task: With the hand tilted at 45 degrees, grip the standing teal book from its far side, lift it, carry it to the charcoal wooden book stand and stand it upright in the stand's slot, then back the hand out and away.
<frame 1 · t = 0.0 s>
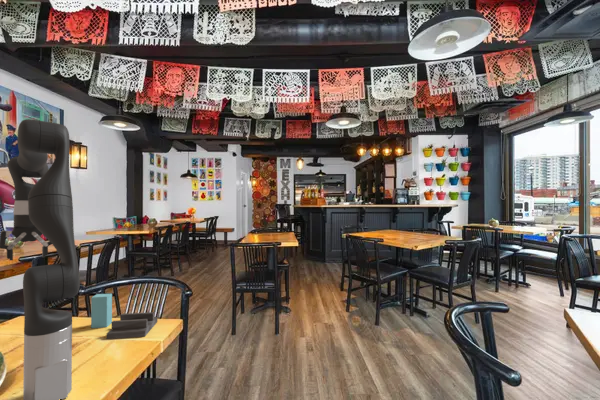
hand: (28, 258, 103), 29 cm above the table, tool pointing down, fingers open, 8 cm apart
teal book: (101, 325, 114), on the table
book stand: (133, 329, 110), on the table
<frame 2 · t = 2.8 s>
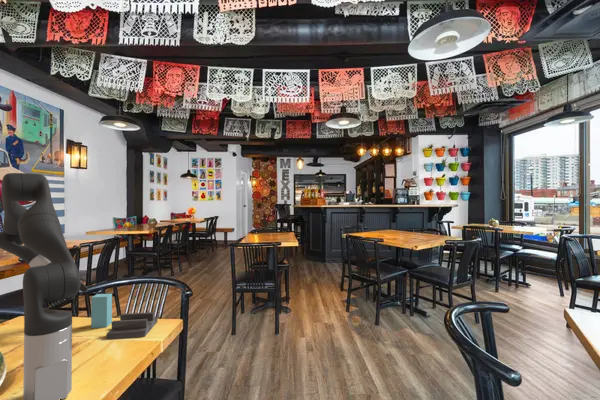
hand: (80, 294, 113), 13 cm above the table, tool tilted 45°, fingers open, 8 cm apart
nothing on the table moved.
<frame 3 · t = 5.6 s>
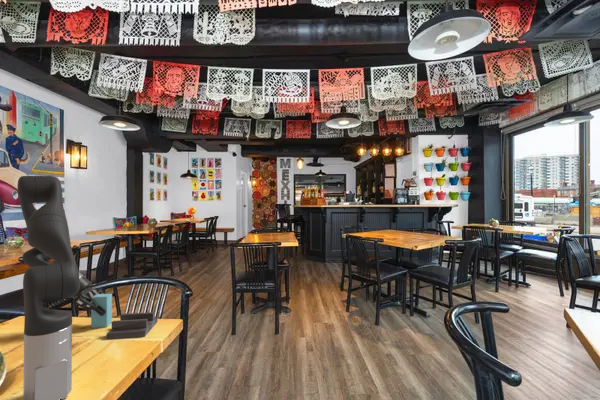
hand: (107, 311, 115), 5 cm above the table, tool tilted 45°, fingers closed on teal book, 4 cm apart
teal book: (101, 325, 114), on the table, touching gripper
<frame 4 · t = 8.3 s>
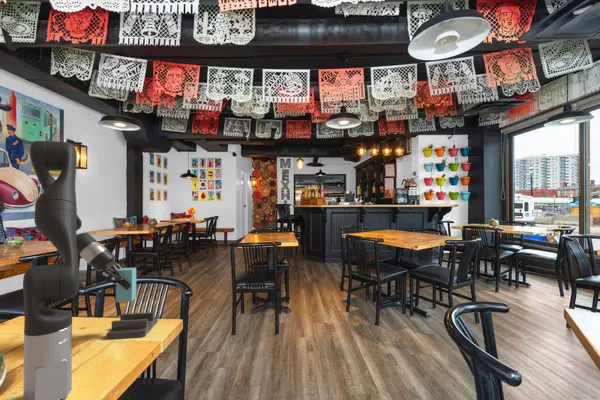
hand: (131, 286, 111), 17 cm above the table, tool tilted 45°, fingers closed on teal book, 4 cm apart
teal book: (126, 300, 111), point 11 cm above the table, touching gripper
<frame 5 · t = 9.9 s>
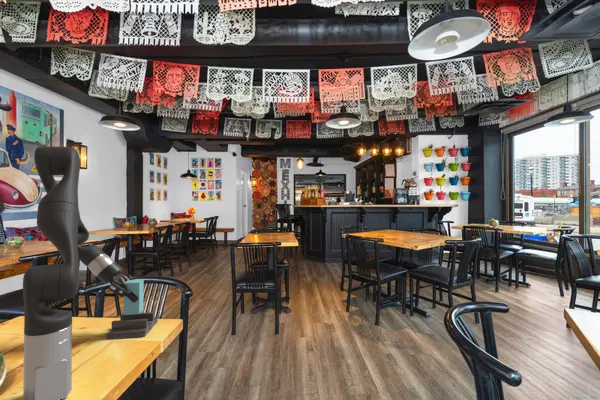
hand: (139, 298, 111), 12 cm above the table, tool tilted 45°, fingers closed on teal book, 4 cm apart
teal book: (133, 312, 110), point 7 cm above the table, touching gripper
when the fingers open (9 cm above the table, at t = 11.0 s): teal book drops 1 cm, resting on book stand.
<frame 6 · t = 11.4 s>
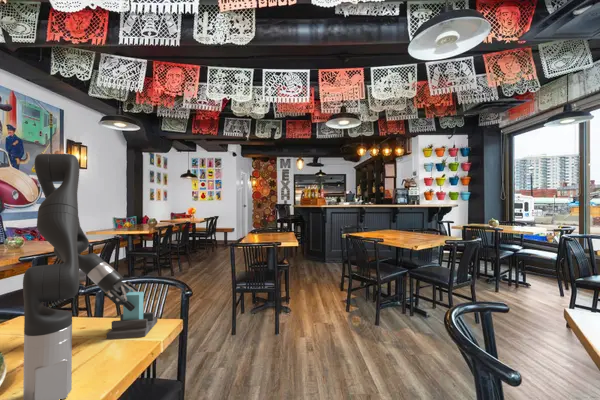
hand: (137, 305, 111), 9 cm above the table, tool tilted 45°, fingers open, 7 cm apart
teal book: (133, 324, 110), point 2 cm above the table, touching book stand
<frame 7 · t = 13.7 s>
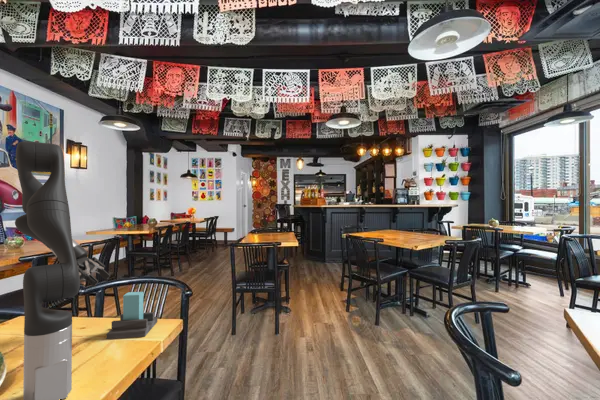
hand: (102, 280, 109), 19 cm above the table, tool tilted 45°, fingers open, 8 cm apart
nothing on the table moved.
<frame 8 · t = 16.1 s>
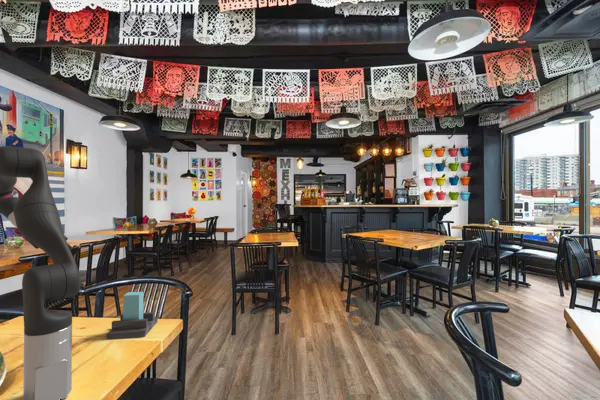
hand: (62, 251, 107), 31 cm above the table, tool tilted 45°, fingers open, 8 cm apart
nothing on the table moved.
at the end: teal book 0.1 cm off-centre on the book stand, point 2.0 cm above the book stand's base; teal book tilted 0°; the gripper is holding nothing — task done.
